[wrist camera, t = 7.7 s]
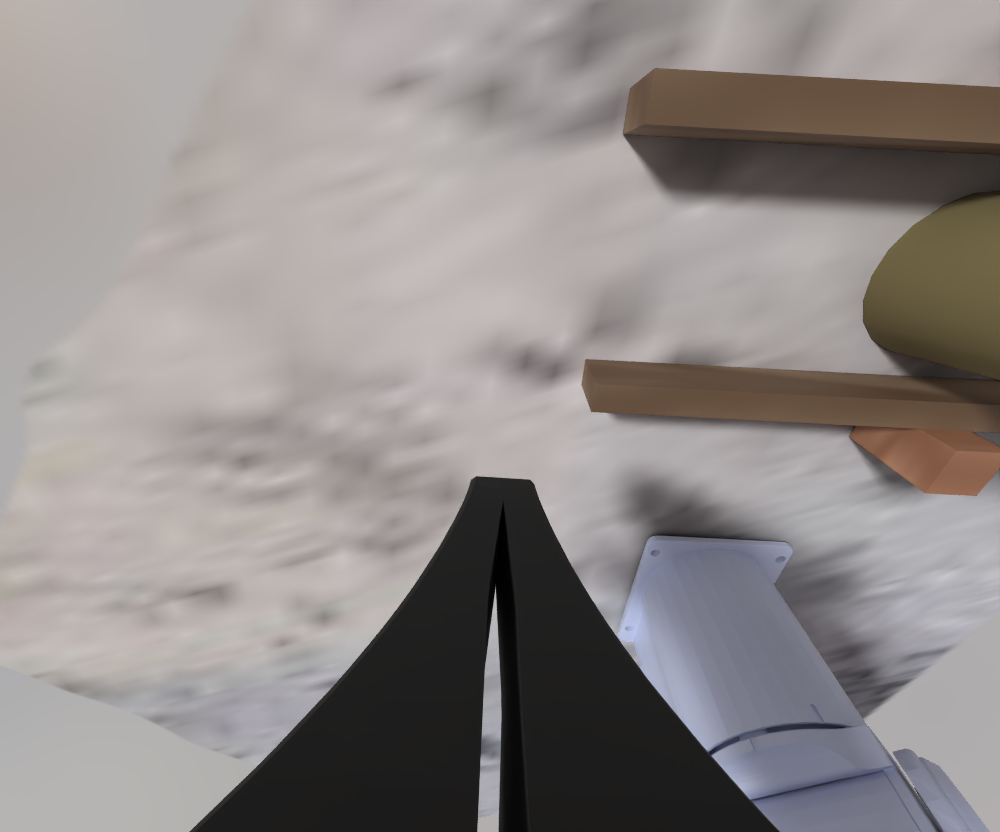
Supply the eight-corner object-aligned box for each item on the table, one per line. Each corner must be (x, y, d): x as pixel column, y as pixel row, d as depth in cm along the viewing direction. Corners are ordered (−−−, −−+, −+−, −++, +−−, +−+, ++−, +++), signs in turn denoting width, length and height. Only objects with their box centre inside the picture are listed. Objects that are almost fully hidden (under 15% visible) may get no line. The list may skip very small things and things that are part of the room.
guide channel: (1017, 445, 19) (1130, 503, 16) (575, 422, 19) (589, 476, 15) (1355, 40, 12) (1708, -20, 8) (644, 1, 12) (701, -77, 8)
